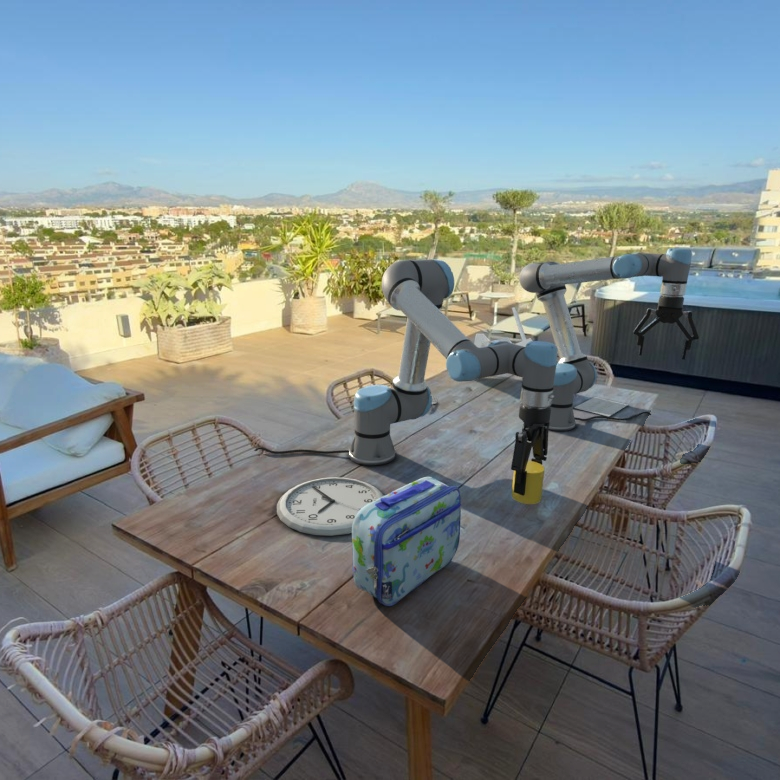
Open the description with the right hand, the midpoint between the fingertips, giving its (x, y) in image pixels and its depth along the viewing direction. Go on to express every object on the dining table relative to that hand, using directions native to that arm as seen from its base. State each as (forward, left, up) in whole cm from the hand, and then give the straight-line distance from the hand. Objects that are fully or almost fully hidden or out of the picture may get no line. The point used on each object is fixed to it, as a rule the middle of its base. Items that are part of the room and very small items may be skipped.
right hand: (661, 356), depth 184 cm
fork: (+81, -22, -31) cm, 89 cm away
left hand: (+52, +64, -22) cm, 85 cm away
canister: (+52, +64, -25) cm, 86 cm away
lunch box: (+81, +93, -31) cm, 127 cm away
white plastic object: (+49, -62, -31) cm, 85 cm away
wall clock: (+104, +65, -31) cm, 126 cm away
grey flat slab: (+8, -34, -31) cm, 47 cm away
